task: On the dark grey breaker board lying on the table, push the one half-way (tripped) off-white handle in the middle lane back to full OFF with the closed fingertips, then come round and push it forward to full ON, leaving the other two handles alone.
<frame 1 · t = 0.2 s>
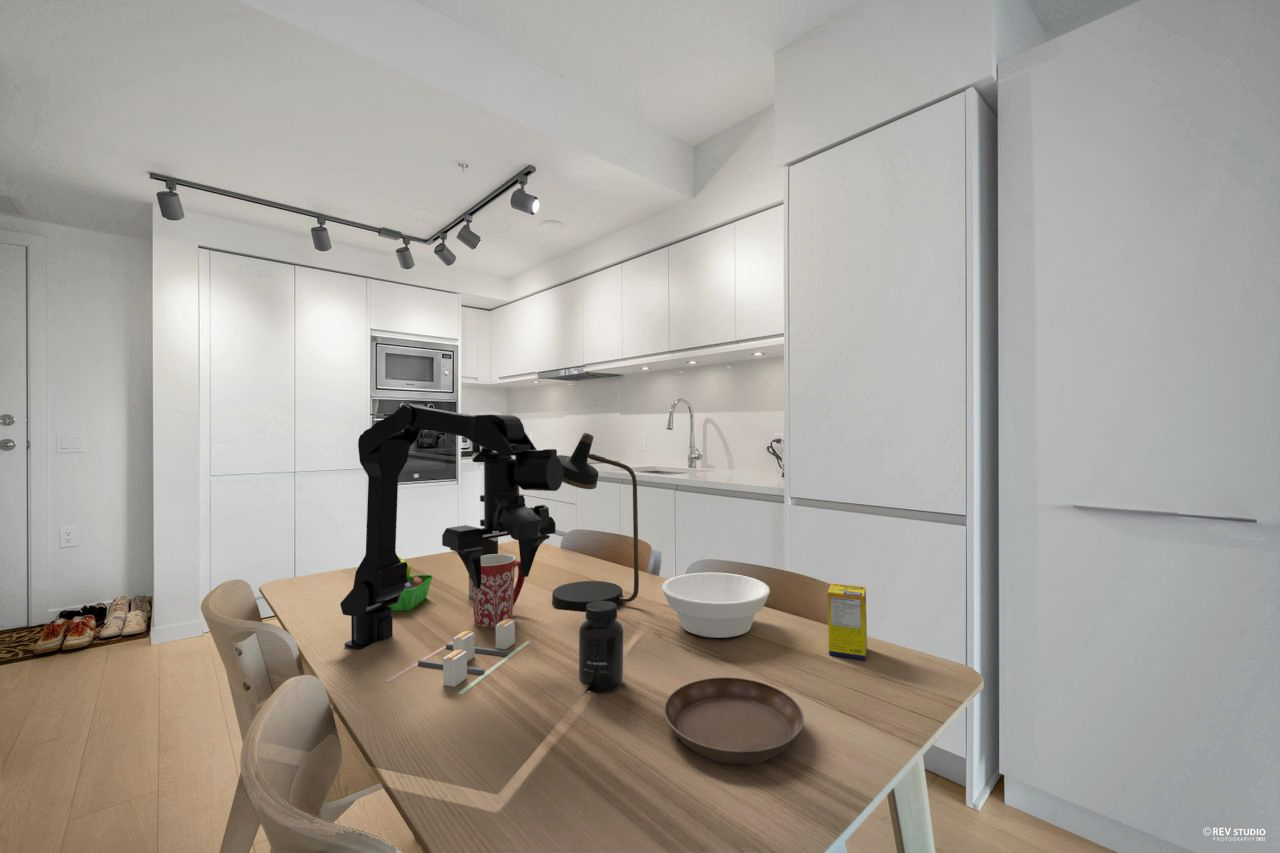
hand: (502, 582, 90), 14 cm above the table, fingers open, 9 cm apart
breaker 2: (505, 633, 94), point 3 cm above the table, slide at 3.5 cm
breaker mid: (463, 646, 88), point 3 cm above the table, slide at 0.0 cm
breaker 1: (455, 667, 80), point 3 cm above the table, slide at 3.5 cm
lamp: (594, 602, 121), on the table
panel: (464, 666, 88), on the table
mug: (500, 625, 108), on the table
plant saucer: (732, 733, 69), on the table
fruit basket: (404, 605, 121), on the table
supplement box: (848, 652, 93), on the table
bowl: (715, 629, 105), on the table
supplement bottle: (601, 684, 82), on the table
cup: (483, 596, 126), on the table
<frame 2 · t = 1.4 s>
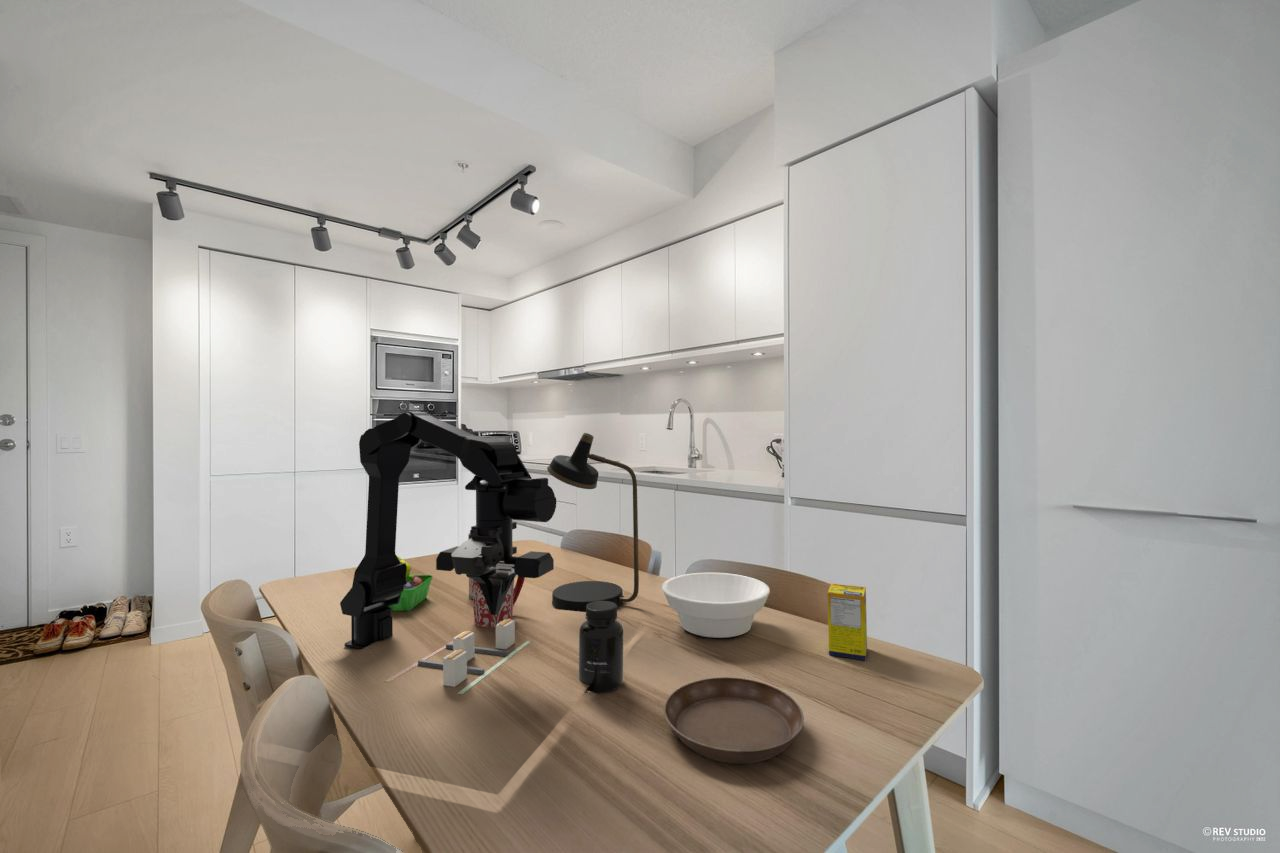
hand: (494, 614, 87), 9 cm above the table, fingers closed
nothing on the table moved.
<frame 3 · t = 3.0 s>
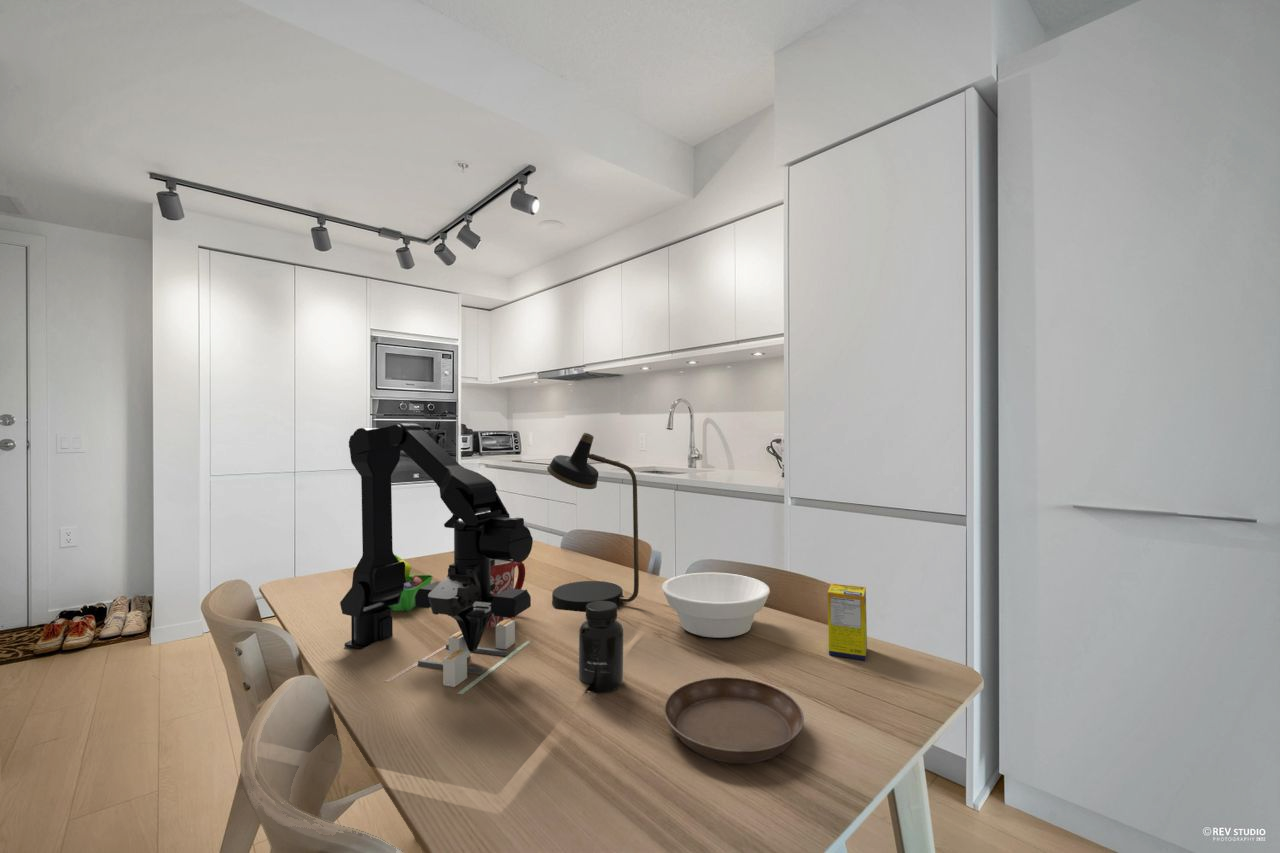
hand: (472, 650, 88), 3 cm above the table, fingers closed
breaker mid: (459, 646, 88), point 3 cm above the table, slide at -0.9 cm, touching gripper
everything else where it was.
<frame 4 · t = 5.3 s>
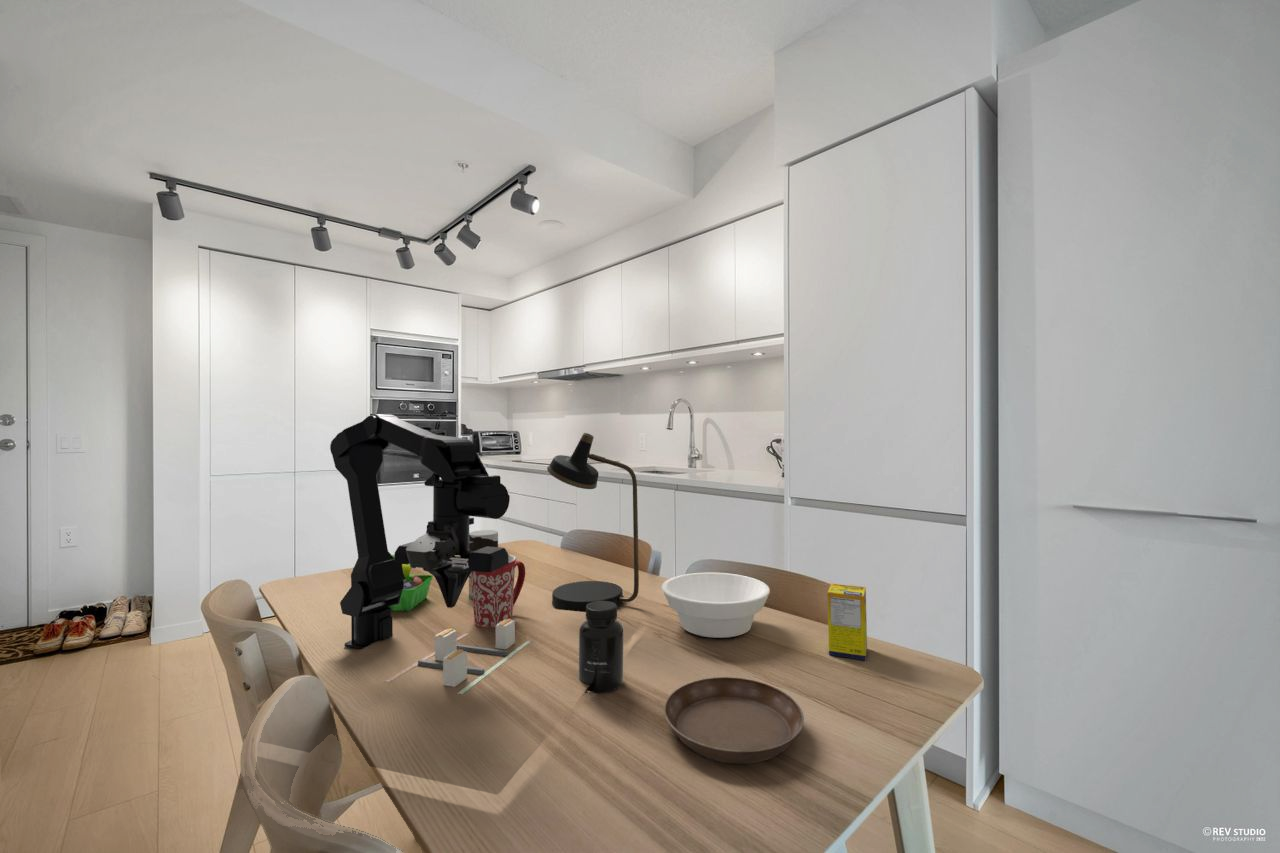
hand: (451, 607, 89), 10 cm above the table, fingers closed
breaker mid: (445, 644, 89), point 3 cm above the table, slide at -3.5 cm
everything else where it was.
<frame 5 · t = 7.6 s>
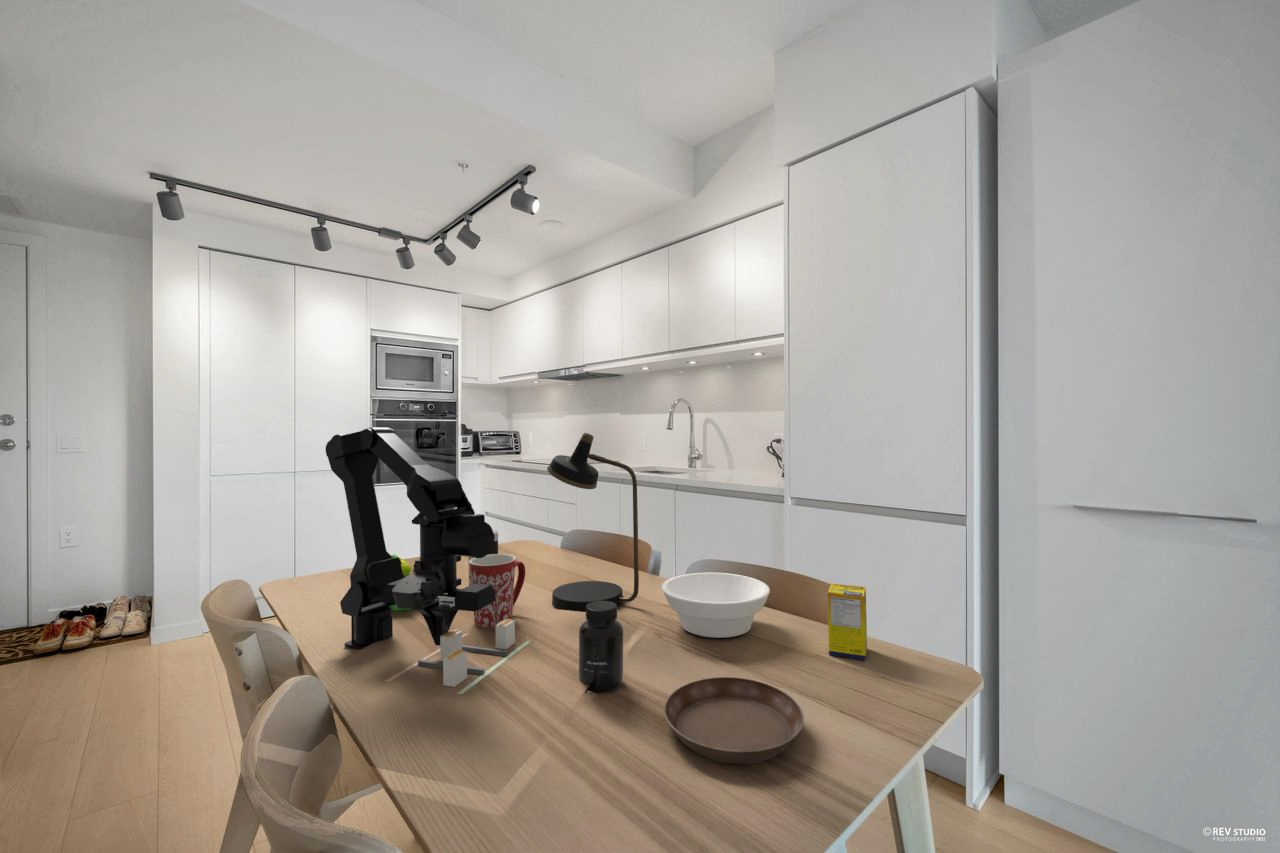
hand: (439, 644, 90), 3 cm above the table, fingers closed
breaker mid: (451, 645, 89), point 3 cm above the table, slide at -2.5 cm, touching gripper
everything else where it was.
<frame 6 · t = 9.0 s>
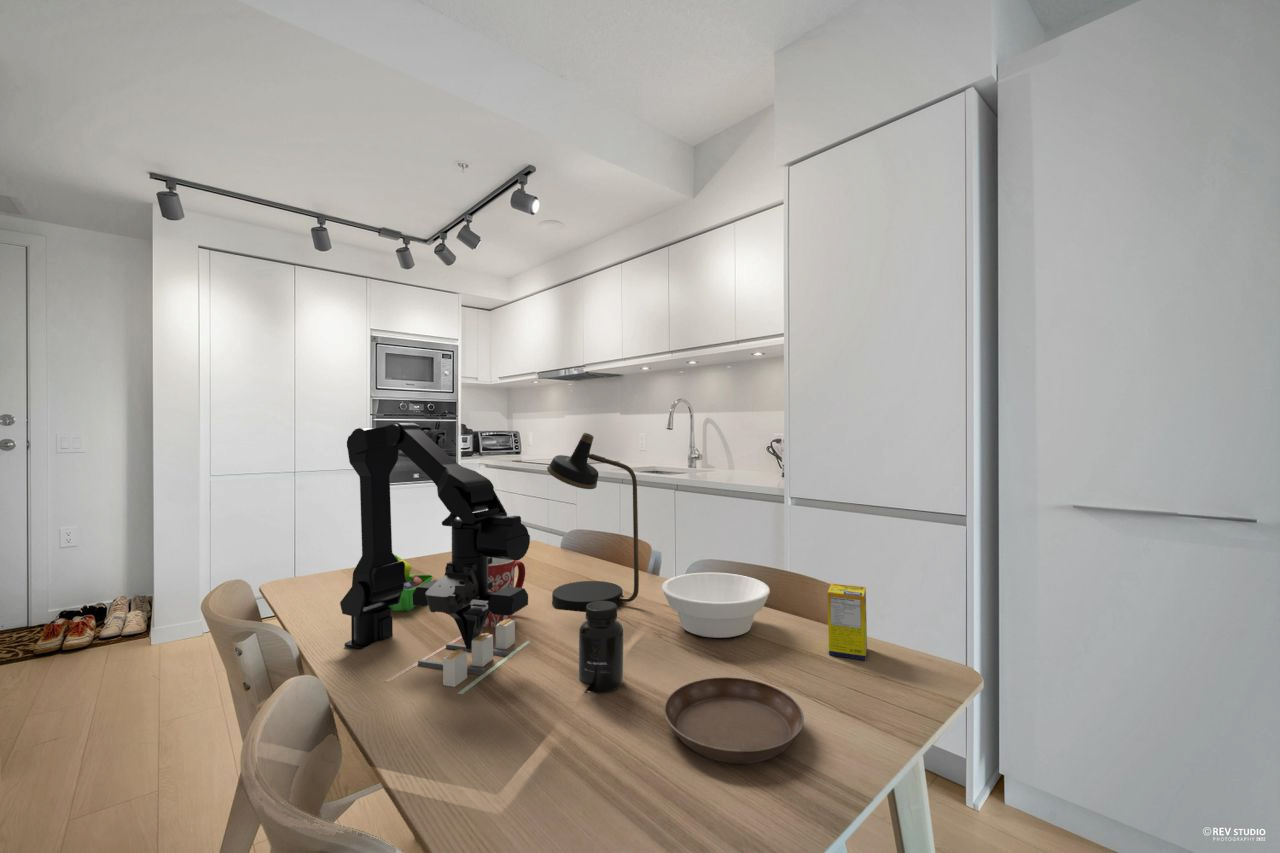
hand: (470, 648, 88), 3 cm above the table, fingers closed
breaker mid: (482, 649, 87), point 3 cm above the table, slide at 3.6 cm, touching gripper
everything else where it was.
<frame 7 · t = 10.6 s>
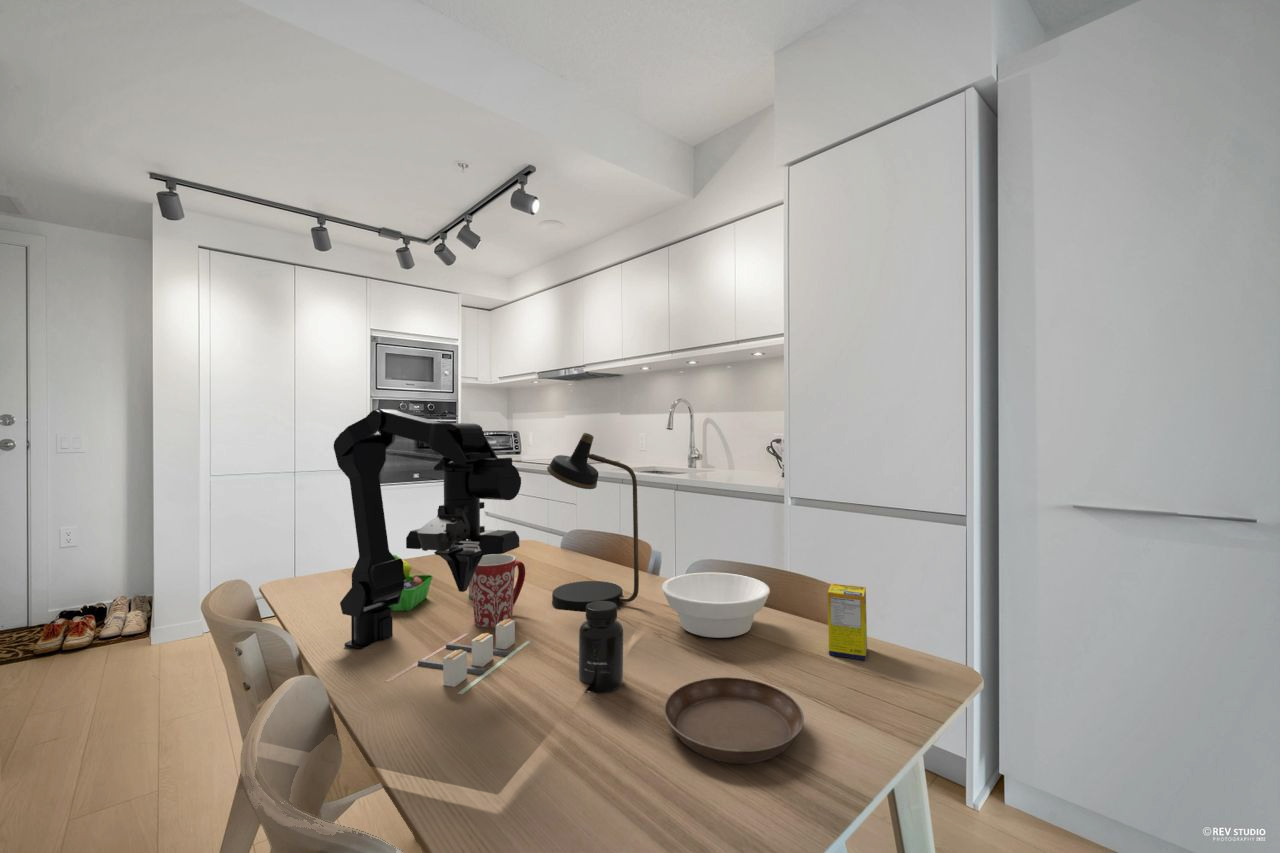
hand: (463, 591, 89), 12 cm above the table, fingers closed
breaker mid: (482, 649, 87), point 3 cm above the table, slide at 3.5 cm
everything else where it was.
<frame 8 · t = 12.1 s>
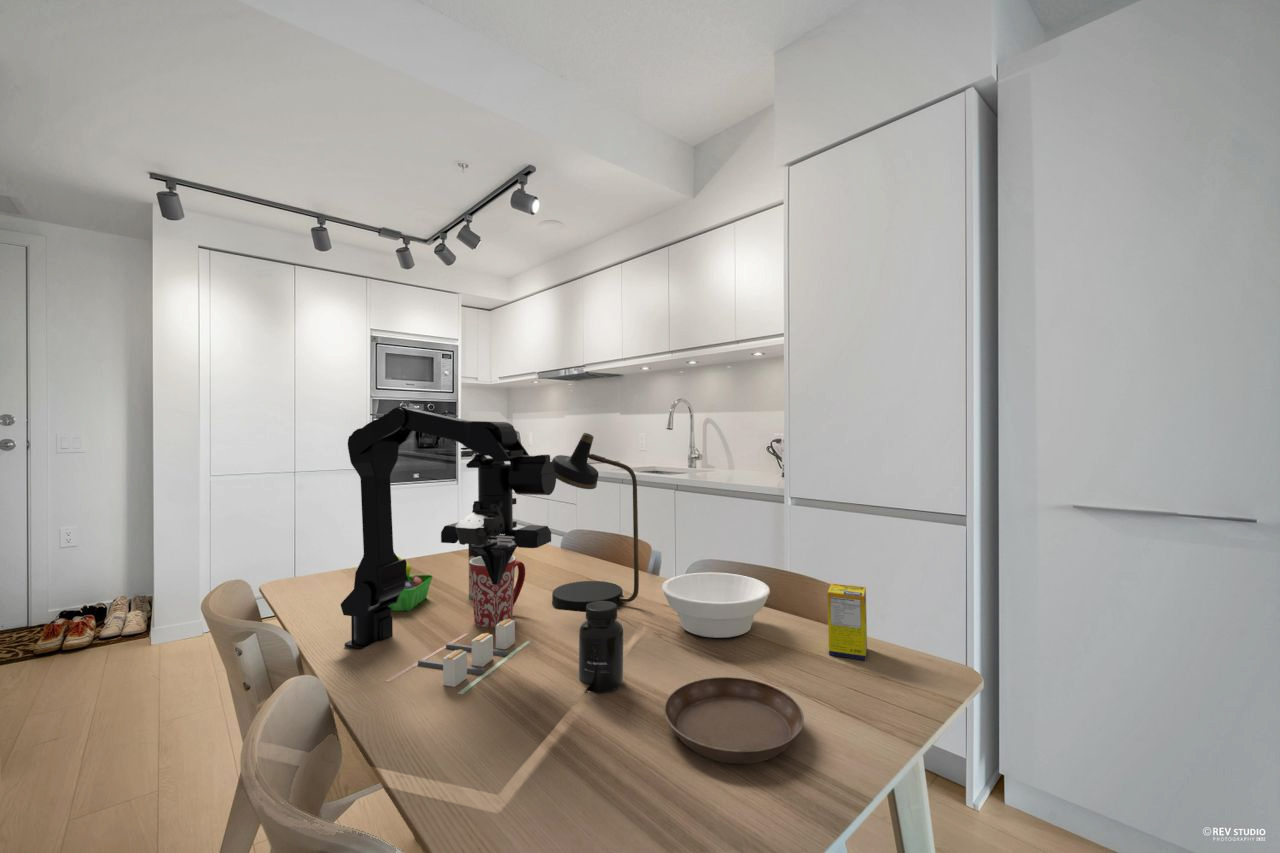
hand: (496, 584, 92), 12 cm above the table, fingers closed
nothing on the table moved.
at the end: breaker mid slide at 3.5 cm; breaker 2 slide at 3.5 cm; breaker 1 slide at 3.5 cm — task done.
